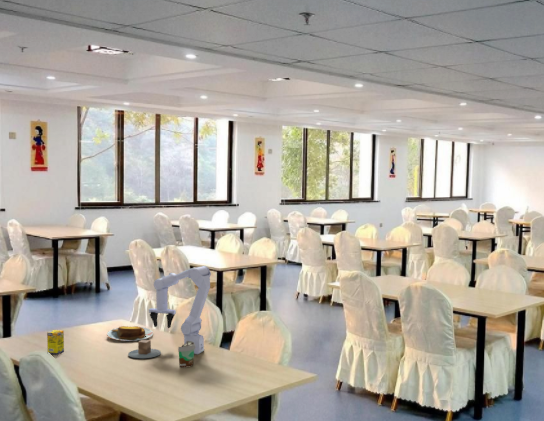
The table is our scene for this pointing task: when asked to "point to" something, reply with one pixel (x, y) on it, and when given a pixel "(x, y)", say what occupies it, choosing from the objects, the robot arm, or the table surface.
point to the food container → (186, 354)
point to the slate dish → (152, 354)
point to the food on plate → (129, 333)
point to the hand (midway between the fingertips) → (162, 327)
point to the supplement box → (55, 342)
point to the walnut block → (144, 347)
